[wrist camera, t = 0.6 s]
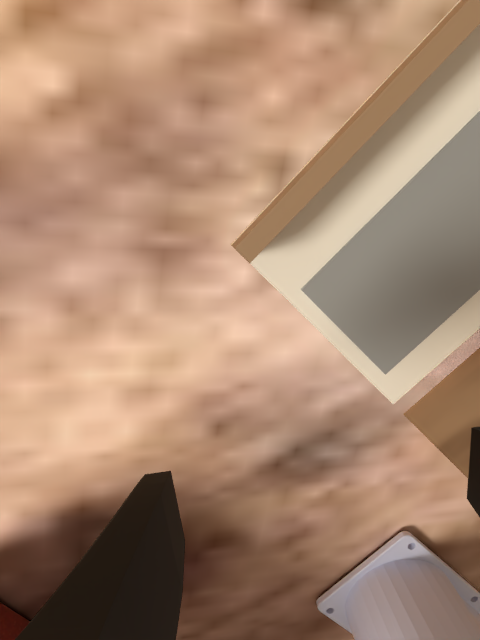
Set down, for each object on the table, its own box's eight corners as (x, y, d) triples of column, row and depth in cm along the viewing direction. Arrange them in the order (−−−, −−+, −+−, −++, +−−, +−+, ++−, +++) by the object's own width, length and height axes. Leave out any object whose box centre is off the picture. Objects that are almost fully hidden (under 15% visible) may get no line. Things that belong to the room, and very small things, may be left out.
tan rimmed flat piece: (628, 178, 17) (751, 162, 13) (384, 395, 19) (426, 437, 15) (495, -39, 14) (600, -141, 10) (230, 244, 16) (234, 248, 12)
